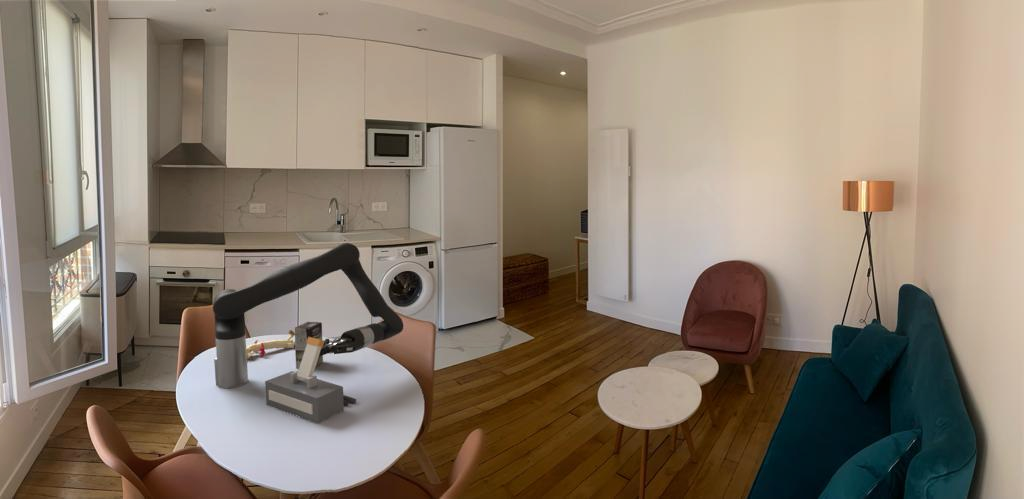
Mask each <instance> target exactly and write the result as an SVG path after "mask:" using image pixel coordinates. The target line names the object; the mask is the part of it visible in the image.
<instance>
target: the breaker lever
mask: <svg viewBox="0 0 1024 499" xmlns="http://www.w3.org/2000/svg"><path fill="white" fill-rule="evenodd" d="M324 341H325V340H323V339H322V340H320V339H316V338H312V337H308V339H307V342H306V343H307V346H306V349H305V352H304V355H303V358H302V361H301V364H300V367H299V368H298V370H297V371H298V374H297V376H296V377H295V379H296V380H299V381H303V382H306V383H307V378H309V377H312V376H314V373H315V369H316V363H317V360H318V357H319V354H320V351H321V347H323V344H324Z"/></svg>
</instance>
